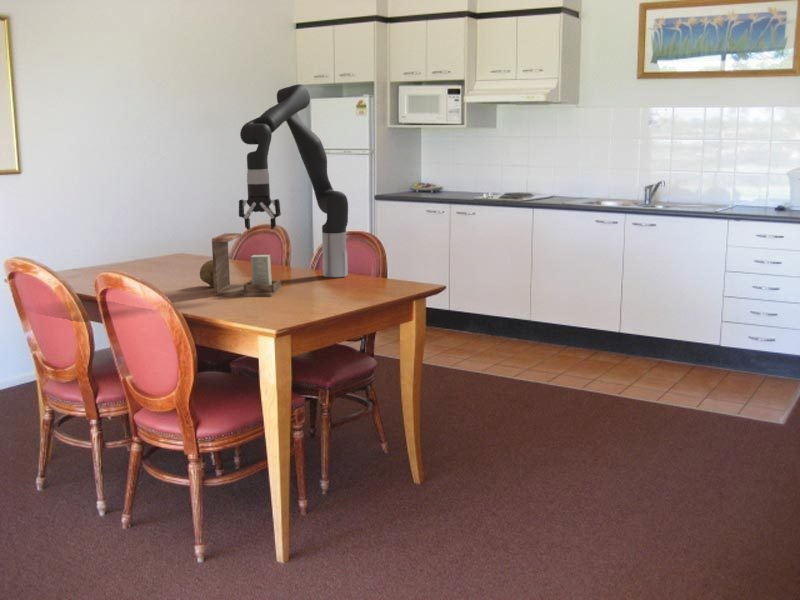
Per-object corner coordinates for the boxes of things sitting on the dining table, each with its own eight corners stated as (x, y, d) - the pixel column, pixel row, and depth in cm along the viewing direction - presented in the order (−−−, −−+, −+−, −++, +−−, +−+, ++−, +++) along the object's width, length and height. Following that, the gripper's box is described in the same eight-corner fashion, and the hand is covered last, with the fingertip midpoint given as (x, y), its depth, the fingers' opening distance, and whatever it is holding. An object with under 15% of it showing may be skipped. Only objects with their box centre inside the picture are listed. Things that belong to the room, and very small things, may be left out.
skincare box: (272, 288, 315) (271, 254, 312) (269, 290, 310) (268, 256, 308) (254, 288, 315) (253, 254, 313) (251, 290, 311) (250, 256, 309)
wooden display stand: (282, 288, 320) (280, 233, 317) (272, 296, 305) (270, 238, 301) (227, 288, 322) (224, 233, 318) (214, 296, 306) (211, 238, 303)
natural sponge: (213, 290, 319) (211, 262, 317) (195, 288, 323) (193, 261, 321) (230, 286, 326) (229, 259, 324) (212, 284, 331) (211, 257, 329)
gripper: (280, 181, 309) (282, 227, 312) (240, 182, 310) (243, 228, 313) (276, 182, 301) (278, 230, 304) (235, 183, 303) (237, 230, 306)
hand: (260, 229), depth 309 cm, fingers open, 8 cm apart
